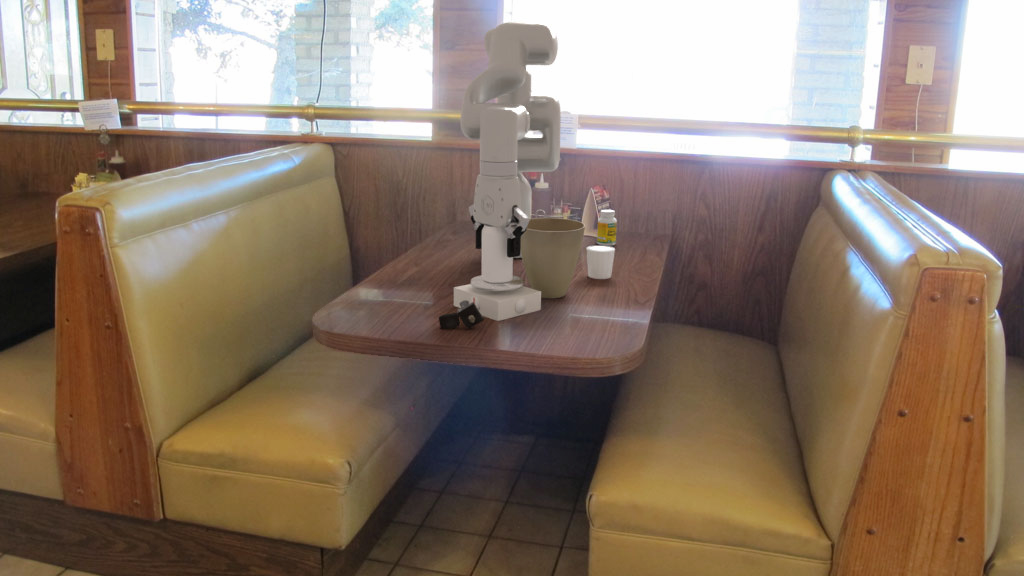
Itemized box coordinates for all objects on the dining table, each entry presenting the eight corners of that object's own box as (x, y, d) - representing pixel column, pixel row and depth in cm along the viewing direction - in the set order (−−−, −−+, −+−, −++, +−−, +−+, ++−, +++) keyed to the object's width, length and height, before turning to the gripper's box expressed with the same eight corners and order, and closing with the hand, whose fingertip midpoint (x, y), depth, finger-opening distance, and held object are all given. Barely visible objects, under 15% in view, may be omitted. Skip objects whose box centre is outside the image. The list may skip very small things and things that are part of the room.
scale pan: (460, 288, 176) (460, 279, 176) (499, 279, 184) (499, 271, 183) (495, 299, 169) (495, 290, 168) (534, 289, 176) (534, 281, 175)
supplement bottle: (605, 241, 243) (606, 208, 241) (619, 244, 240) (621, 210, 237) (593, 243, 240) (594, 210, 237) (607, 246, 236) (609, 213, 233)
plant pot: (503, 290, 191) (504, 220, 186) (558, 282, 198) (560, 215, 194) (538, 307, 178) (540, 233, 174) (595, 298, 185) (598, 227, 181)
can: (480, 276, 179) (480, 220, 175) (511, 276, 179) (511, 220, 176) (482, 284, 172) (482, 226, 169) (513, 284, 173) (514, 226, 170)
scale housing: (452, 306, 178) (452, 287, 177) (496, 295, 186) (496, 278, 185) (497, 321, 168) (497, 302, 167) (541, 310, 176) (542, 291, 175)
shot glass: (612, 280, 200) (613, 251, 199) (583, 278, 202) (584, 250, 200) (614, 273, 207) (616, 245, 205) (587, 271, 208) (588, 244, 206)
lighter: (448, 341, 163) (434, 320, 162) (449, 338, 165) (435, 316, 164) (483, 321, 162) (469, 299, 160) (484, 318, 164) (469, 296, 162)
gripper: (456, 166, 173) (457, 247, 178) (514, 175, 161) (512, 262, 166) (484, 163, 178) (483, 242, 183) (542, 172, 166) (540, 257, 171)
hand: (497, 252), depth 174 cm, fingers open, 9 cm apart
